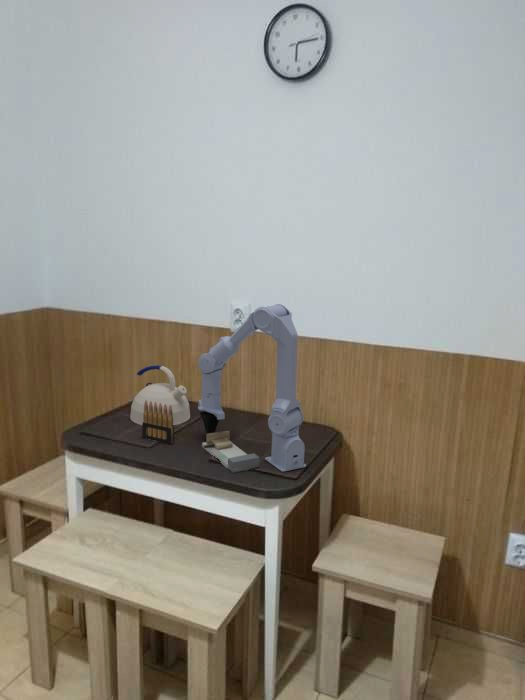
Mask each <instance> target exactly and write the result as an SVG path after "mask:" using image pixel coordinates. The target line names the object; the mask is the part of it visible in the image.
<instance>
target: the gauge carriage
mask: <svg viewBox="0 0 525 700" xmlns="http://www.w3.org/2000/svg"><path fill="white" fill-rule="evenodd" d="M205 434H206V433H205ZM230 434H231V433H230V430H223V431H215V433H209V434H206V435H205V436H206V439H205V440H206V441H205V442H206V444H207V445H205V446H204V448H210V447H215V448H216V449H222V448H227V447H233V444H234V443H233V442H232V441H231V440H230V438H231V437H230ZM204 448H203V449H204Z"/></svg>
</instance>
